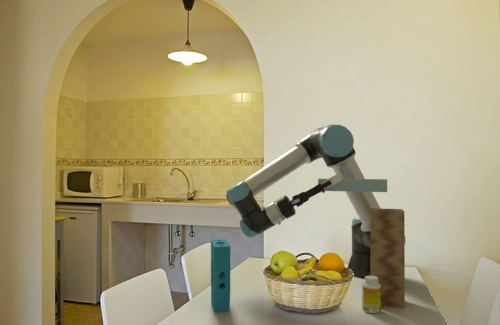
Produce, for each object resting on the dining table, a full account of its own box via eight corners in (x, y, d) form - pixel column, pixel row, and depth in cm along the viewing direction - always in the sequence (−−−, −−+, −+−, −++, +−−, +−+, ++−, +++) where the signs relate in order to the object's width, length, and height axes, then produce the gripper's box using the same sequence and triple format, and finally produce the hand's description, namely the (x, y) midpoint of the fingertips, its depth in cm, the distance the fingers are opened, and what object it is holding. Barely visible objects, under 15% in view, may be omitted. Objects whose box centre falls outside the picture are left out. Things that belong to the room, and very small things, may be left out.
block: (230, 312, 120) (230, 246, 121) (214, 314, 120) (214, 247, 120) (225, 299, 132) (225, 239, 132) (210, 300, 131) (210, 239, 131)
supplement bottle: (383, 314, 120) (383, 279, 120) (364, 314, 120) (364, 279, 120) (377, 307, 125) (377, 274, 125) (360, 307, 125) (359, 274, 125)
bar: (318, 190, 134) (318, 178, 134) (319, 190, 138) (319, 178, 138) (387, 192, 128) (387, 179, 128) (386, 191, 132) (386, 179, 132)
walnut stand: (371, 305, 127) (370, 210, 127) (370, 297, 135) (370, 208, 135) (404, 308, 124) (404, 211, 125) (402, 299, 132) (402, 209, 132)
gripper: (290, 216, 147) (347, 185, 142) (281, 222, 131) (344, 188, 125) (280, 198, 148) (336, 167, 143) (270, 202, 132) (332, 167, 126)
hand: (340, 176), depth 134 cm, fingers closed on bar, 4 cm apart
